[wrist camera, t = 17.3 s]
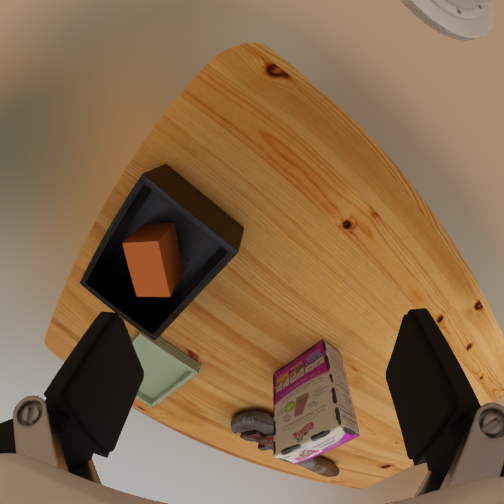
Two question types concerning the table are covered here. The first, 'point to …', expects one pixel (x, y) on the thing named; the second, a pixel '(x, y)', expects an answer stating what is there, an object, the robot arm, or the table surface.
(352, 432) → the candy bar box
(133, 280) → the orange brown rectangular block
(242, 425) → the pipe wrench
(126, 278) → the dark open storage bin
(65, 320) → the table surface
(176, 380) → the shallow green tray
